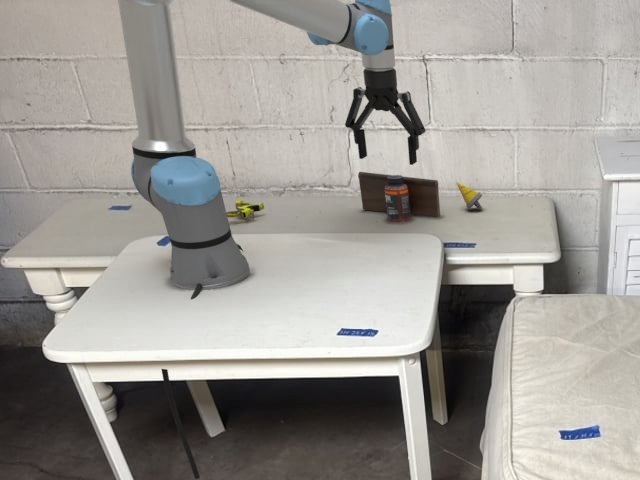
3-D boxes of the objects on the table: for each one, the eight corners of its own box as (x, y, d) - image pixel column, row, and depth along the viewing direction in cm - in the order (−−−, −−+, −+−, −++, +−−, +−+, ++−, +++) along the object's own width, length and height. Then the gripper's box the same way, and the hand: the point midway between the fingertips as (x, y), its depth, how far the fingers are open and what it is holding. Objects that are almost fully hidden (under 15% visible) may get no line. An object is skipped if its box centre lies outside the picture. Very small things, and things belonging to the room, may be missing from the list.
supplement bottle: (413, 217, 193) (409, 174, 188) (407, 224, 188) (403, 179, 182) (391, 217, 194) (387, 173, 188) (385, 223, 189) (380, 178, 183)
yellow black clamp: (237, 196, 194) (264, 197, 194) (240, 211, 196) (266, 211, 196) (220, 208, 184) (248, 209, 184) (223, 223, 186) (251, 224, 186)
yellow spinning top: (476, 214, 195) (449, 187, 193) (475, 218, 200) (449, 191, 199) (490, 201, 195) (463, 173, 194) (488, 204, 201) (463, 177, 199)
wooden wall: (437, 218, 193) (435, 181, 187) (362, 209, 197) (357, 173, 192) (440, 216, 194) (438, 179, 188) (366, 207, 199) (361, 170, 193)
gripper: (435, 69, 169) (440, 161, 181) (339, 61, 174) (350, 150, 187) (422, 75, 163) (428, 170, 175) (323, 66, 168) (335, 159, 181)
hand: (388, 160), depth 181 cm, fingers open, 13 cm apart
